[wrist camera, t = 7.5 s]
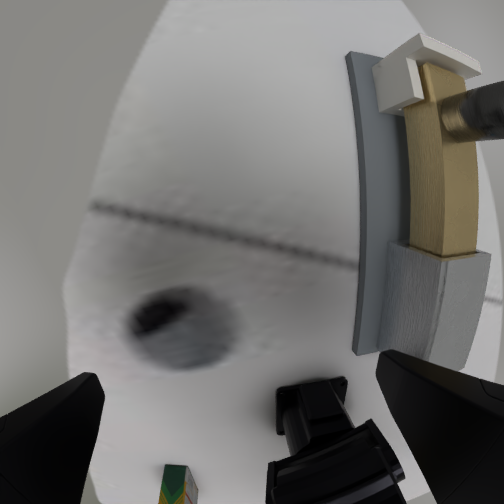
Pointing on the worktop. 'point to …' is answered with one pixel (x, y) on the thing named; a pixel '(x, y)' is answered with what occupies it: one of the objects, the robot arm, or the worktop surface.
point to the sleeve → (432, 303)
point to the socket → (415, 71)
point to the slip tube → (448, 159)
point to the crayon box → (178, 486)
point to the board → (377, 194)
